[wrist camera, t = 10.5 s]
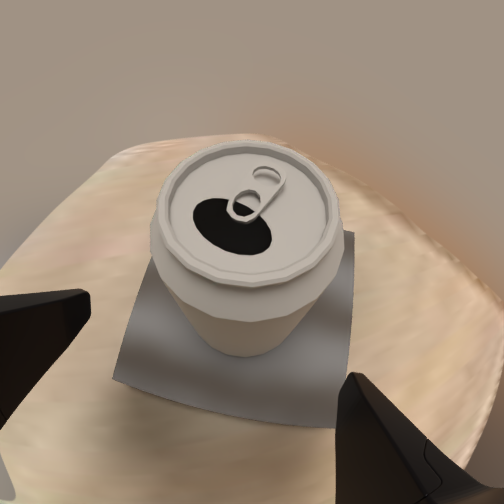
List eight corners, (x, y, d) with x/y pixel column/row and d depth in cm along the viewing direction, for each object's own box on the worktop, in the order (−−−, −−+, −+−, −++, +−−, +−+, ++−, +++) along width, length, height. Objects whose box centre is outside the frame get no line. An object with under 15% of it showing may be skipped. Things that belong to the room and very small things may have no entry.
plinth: (324, 424, 18) (337, 428, 15) (127, 381, 19) (112, 378, 16) (343, 249, 25) (354, 232, 23) (181, 218, 26) (175, 199, 24)
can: (170, 317, 19) (94, 217, 8) (231, 242, 22) (227, 108, 11) (258, 379, 17) (289, 362, 6) (314, 293, 20) (384, 181, 9)
